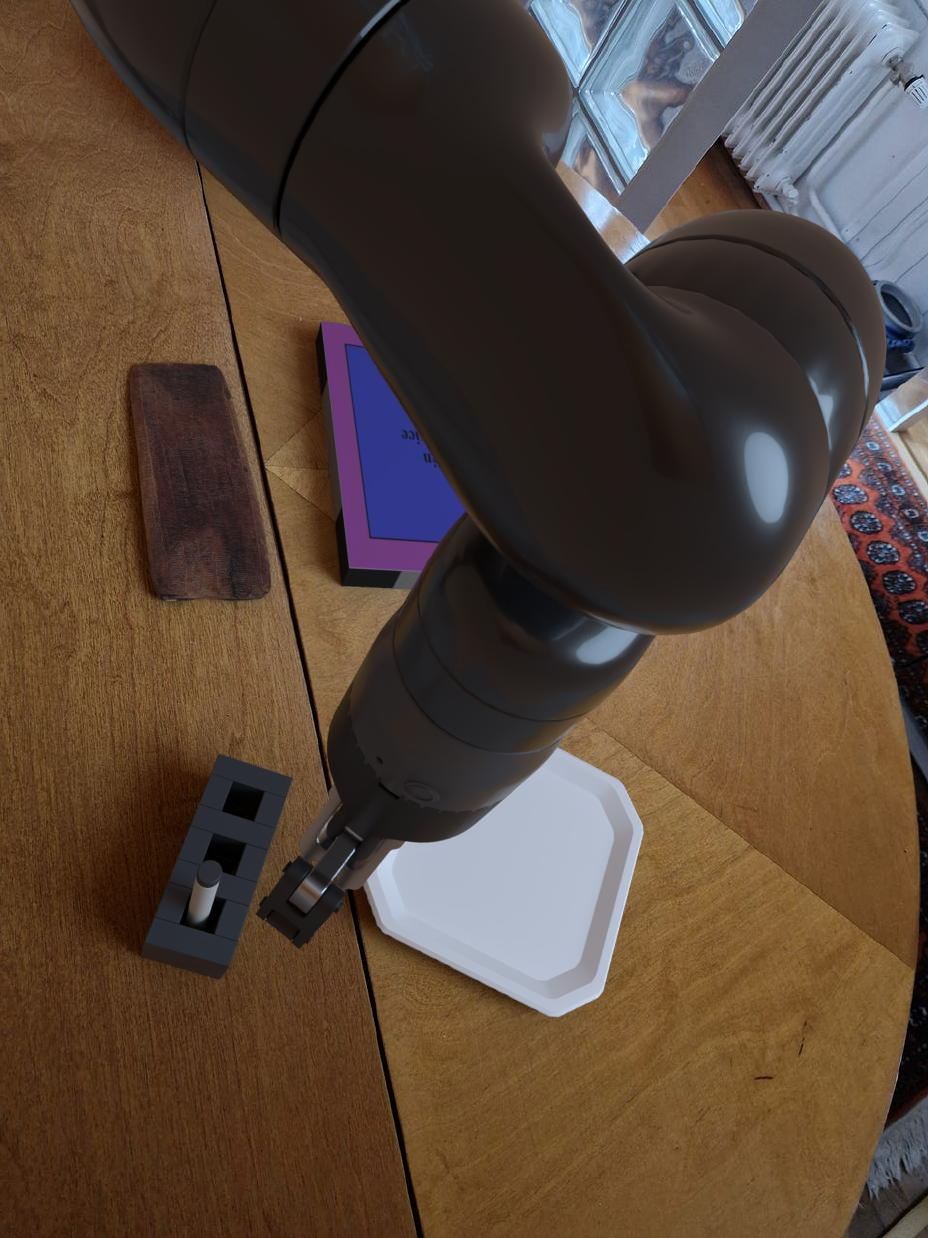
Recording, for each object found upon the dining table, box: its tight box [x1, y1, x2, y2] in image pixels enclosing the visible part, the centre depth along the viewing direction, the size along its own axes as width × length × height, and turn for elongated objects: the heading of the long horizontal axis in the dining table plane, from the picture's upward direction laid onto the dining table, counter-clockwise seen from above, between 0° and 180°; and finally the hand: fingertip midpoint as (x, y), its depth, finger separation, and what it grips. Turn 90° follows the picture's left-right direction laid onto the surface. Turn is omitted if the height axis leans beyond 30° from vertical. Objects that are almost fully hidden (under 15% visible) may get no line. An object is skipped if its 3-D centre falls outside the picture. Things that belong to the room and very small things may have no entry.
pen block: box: [140, 753, 293, 980], centre depth 62 cm, size 13×6×5 cm, turn 168°
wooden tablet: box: [129, 362, 272, 603], centre depth 79 cm, size 26×2×10 cm
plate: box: [362, 746, 644, 1018], centre depth 71 cm, size 21×21×2 cm
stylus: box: [183, 859, 223, 932], centre depth 57 cm, size 1×1×12 cm
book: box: [314, 320, 466, 590], centre depth 89 cm, size 21×3×30 cm
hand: (347, 838), depth 46 cm, fingers open, 8 cm apart
